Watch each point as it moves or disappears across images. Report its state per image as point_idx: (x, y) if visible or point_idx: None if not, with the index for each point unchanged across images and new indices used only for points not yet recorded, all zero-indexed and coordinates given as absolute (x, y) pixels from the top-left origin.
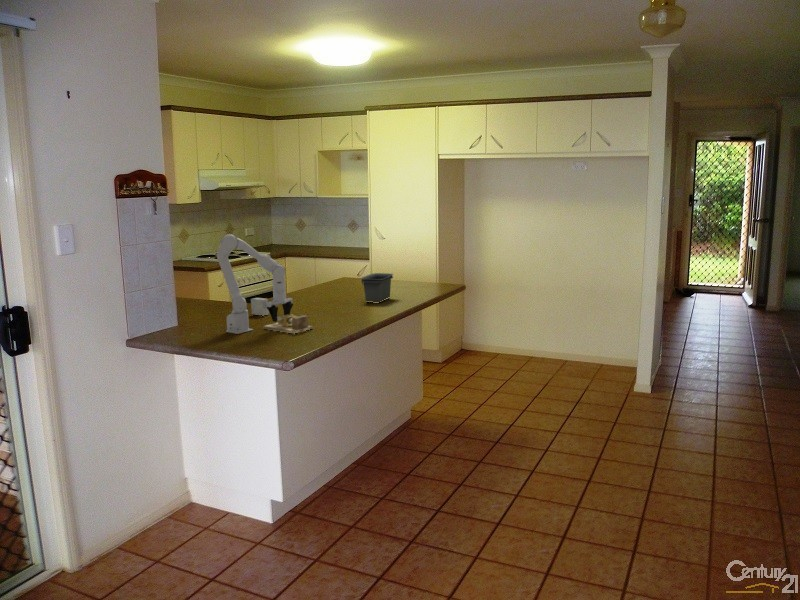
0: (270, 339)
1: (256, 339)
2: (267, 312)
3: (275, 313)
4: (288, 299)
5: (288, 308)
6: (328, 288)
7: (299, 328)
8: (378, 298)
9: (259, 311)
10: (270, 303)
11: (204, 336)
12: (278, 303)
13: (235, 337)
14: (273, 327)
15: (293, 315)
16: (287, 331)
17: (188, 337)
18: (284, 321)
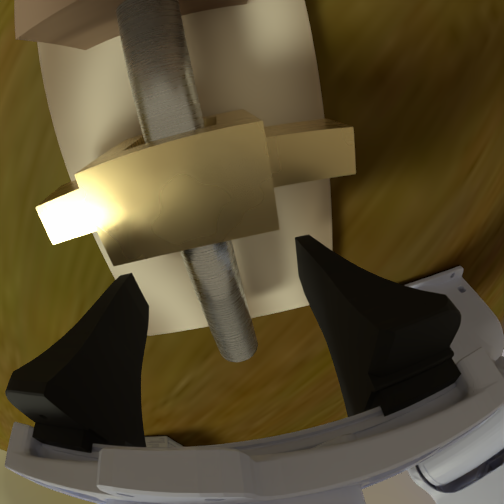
0: (464, 20)
1: (496, 94)
2: (146, 446)
3: (368, 276)
4: (55, 486)
5: (88, 357)
6: (3, 443)
7: None
8: None
9: None
10: (502, 394)
11: (491, 303)
12: (370, 435)
13: (497, 216)
14: (321, 208)
15: (89, 166)
16: (303, 17)
17: (499, 314)
18: (267, 131)
